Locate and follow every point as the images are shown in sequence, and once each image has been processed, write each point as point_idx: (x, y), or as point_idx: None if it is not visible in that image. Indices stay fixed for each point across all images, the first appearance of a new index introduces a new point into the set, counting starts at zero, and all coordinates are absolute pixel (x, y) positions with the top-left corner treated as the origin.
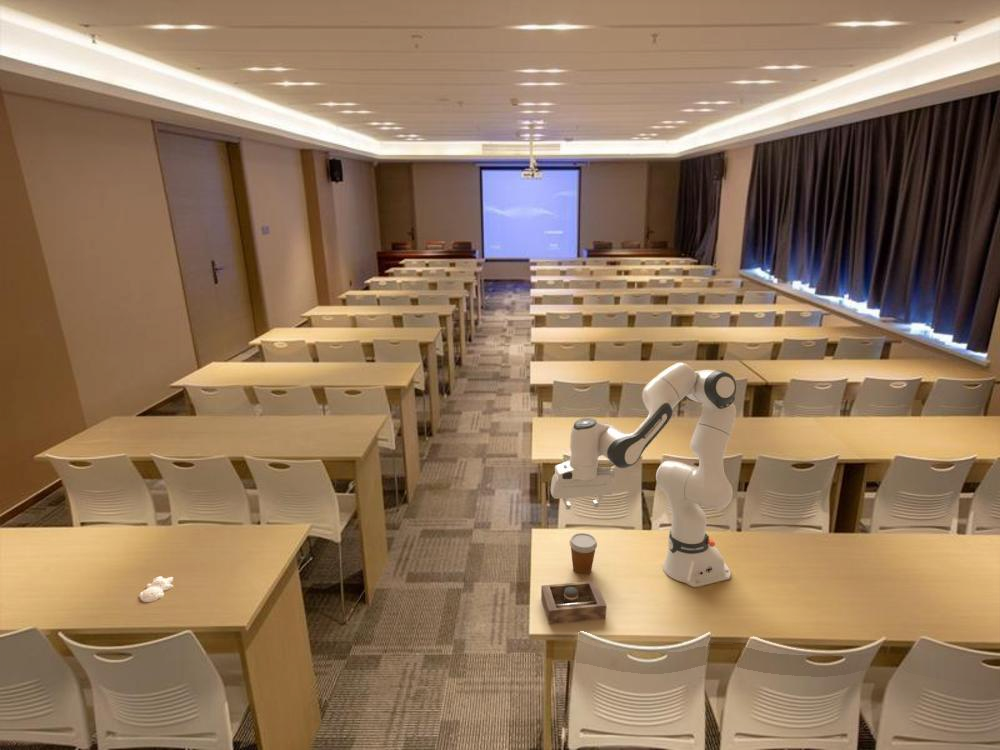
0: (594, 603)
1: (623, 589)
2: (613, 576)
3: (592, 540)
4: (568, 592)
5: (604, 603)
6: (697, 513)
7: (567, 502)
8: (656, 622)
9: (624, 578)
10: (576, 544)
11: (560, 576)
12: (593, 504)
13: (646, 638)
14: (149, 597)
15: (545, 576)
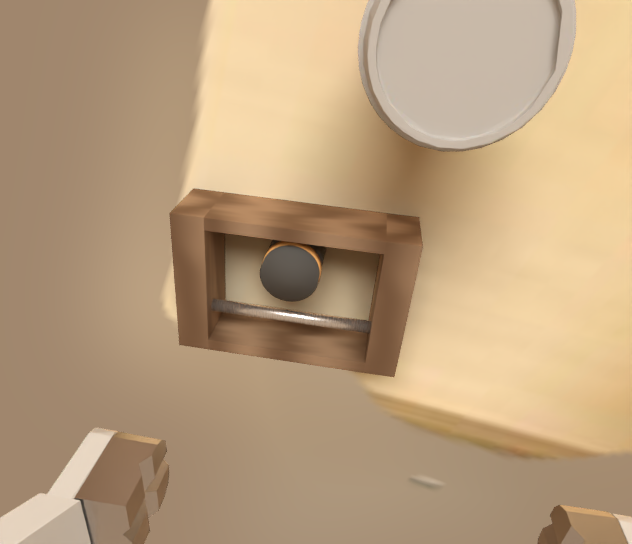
0: (364, 332)
1: (553, 223)
2: (569, 127)
3: (538, 61)
4: (275, 281)
5: (392, 368)
6: None
7: (94, 509)
8: (552, 393)
9: (611, 155)
10: (394, 84)
11: (310, 60)
12: (561, 526)
13: (475, 430)
14: None
15: (237, 42)
